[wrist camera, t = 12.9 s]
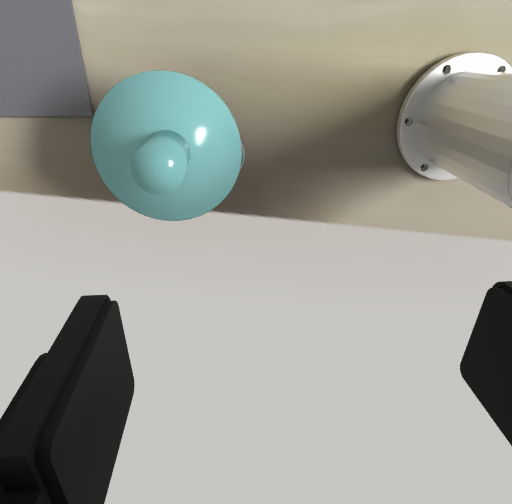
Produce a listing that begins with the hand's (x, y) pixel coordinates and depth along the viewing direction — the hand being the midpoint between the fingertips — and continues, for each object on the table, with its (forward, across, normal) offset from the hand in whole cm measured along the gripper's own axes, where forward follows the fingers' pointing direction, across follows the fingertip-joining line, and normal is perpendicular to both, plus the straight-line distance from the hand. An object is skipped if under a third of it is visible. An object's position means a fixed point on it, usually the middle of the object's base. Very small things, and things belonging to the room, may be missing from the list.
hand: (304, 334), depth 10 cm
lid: (+25, +7, +1) cm, 26 cm away
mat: (+32, +21, -6) cm, 39 cm away
